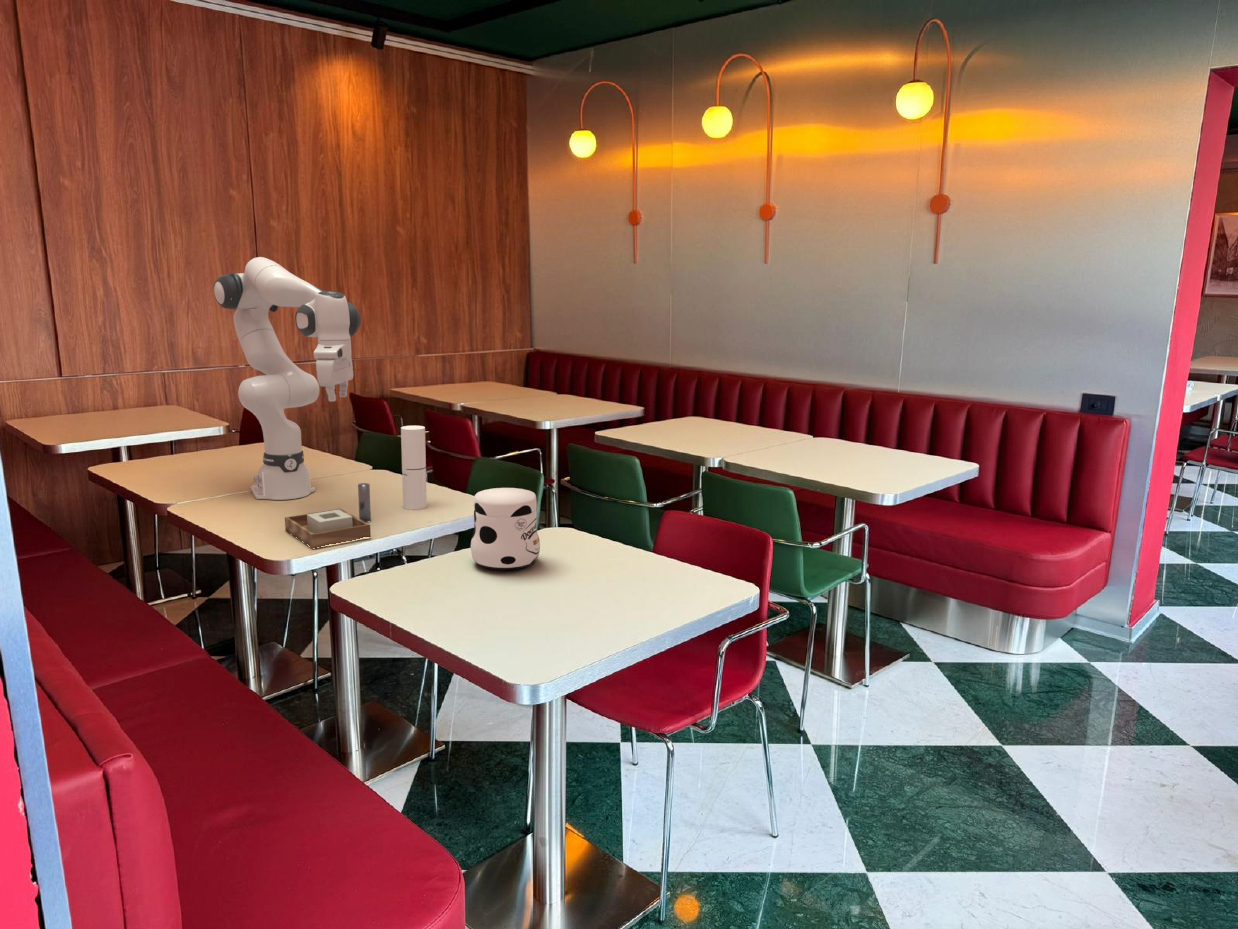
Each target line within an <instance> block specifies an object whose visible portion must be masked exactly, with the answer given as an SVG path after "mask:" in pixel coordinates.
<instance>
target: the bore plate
mask: <svg viewBox="0 0 1238 929" xmlns="http://www.w3.org/2000/svg"><path fill="white" fill-rule="evenodd" d="M332 510H333V511H329V510H326V511H327V512H322V511H319V512H320V513H316V512H313V513H314V514H310V513H306V514H307V524H308V530H309V531H311V532H312V533H314V534H315V533H320V532H326V531H332V530H338V529H344V528H349V527H353V522H352V516H350V515H348V514H346V513H344V512H343V511H341V510H335V509H332Z"/></svg>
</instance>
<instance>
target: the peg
mask: <svg viewBox="0 0 1238 929" xmlns="http://www.w3.org/2000/svg"><path fill="white" fill-rule="evenodd" d="M370 486H371V484H370V483H369V482H368V483H367V482H364V483H363V482H362V483H358V485H357V491H358V492H357V493H358V494H357V495H358V518H359V519H360V520H362V521H364V522H366V523H368V522H367V521H370V520H371V521H372V516H371V490H370ZM371 521H370V522H371Z"/></svg>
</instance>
